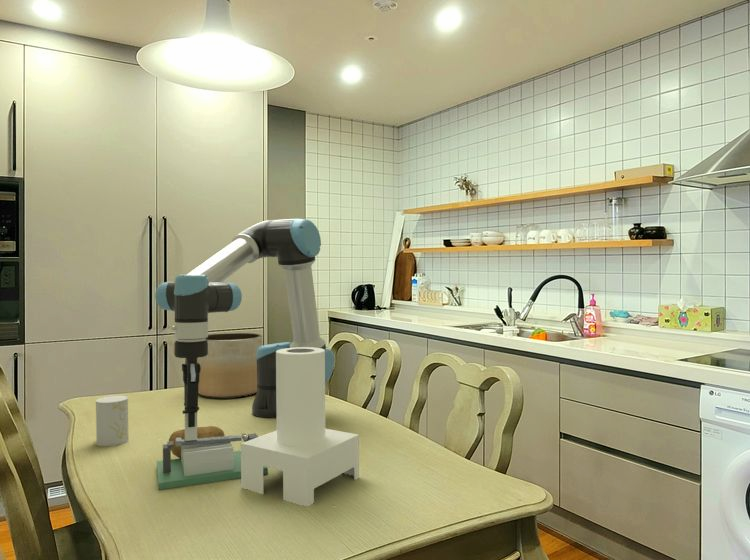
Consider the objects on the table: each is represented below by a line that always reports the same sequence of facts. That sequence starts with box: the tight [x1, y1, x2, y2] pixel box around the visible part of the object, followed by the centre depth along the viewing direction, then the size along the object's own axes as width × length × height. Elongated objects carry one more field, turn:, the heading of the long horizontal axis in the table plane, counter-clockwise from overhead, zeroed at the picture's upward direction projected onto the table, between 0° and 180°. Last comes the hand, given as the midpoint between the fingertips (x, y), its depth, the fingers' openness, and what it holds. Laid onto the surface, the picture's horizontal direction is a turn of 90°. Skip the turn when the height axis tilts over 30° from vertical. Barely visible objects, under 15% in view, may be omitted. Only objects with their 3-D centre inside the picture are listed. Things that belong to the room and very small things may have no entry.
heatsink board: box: [156, 432, 269, 491], centre depth 133 cm, size 24×15×8 cm, turn 113°
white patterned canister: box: [95, 395, 130, 447], centre depth 157 cm, size 8×8×12 cm
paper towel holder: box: [240, 347, 360, 507], centre depth 126 cm, size 19×19×30 cm
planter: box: [197, 332, 263, 399], centre depth 218 cm, size 25×25×22 cm
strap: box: [175, 433, 248, 446], centre depth 134 cm, size 17×3×1 cm, turn 113°
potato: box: [168, 425, 226, 459], centre depth 142 cm, size 10×14×8 cm
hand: (190, 439), depth 131 cm, fingers closed
